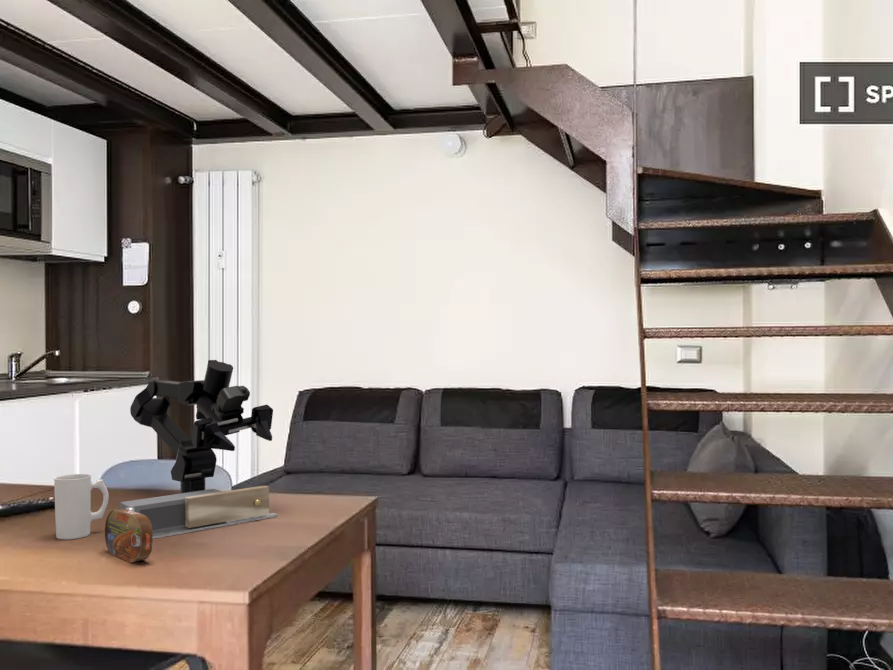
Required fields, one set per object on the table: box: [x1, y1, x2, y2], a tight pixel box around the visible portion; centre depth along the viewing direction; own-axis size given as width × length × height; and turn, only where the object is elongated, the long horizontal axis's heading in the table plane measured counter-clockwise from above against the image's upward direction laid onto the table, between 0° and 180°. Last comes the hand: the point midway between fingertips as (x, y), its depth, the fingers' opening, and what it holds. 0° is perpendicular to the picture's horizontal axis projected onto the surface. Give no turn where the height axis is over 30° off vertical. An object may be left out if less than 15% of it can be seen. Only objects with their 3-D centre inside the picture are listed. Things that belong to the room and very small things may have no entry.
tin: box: [104, 509, 154, 564], centre depth 138 cm, size 15×3×8 cm, turn 47°
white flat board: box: [126, 507, 278, 540], centre depth 159 cm, size 2×32×7 cm, turn 130°
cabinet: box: [119, 488, 223, 534], centre depth 159 cm, size 6×20×6 cm, turn 130°
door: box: [185, 485, 270, 528], centre depth 162 cm, size 3×18×6 cm, turn 130°
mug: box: [53, 473, 110, 541], centre depth 155 cm, size 10×7×12 cm, turn 119°
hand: (253, 443), depth 165 cm, fingers open, 9 cm apart
